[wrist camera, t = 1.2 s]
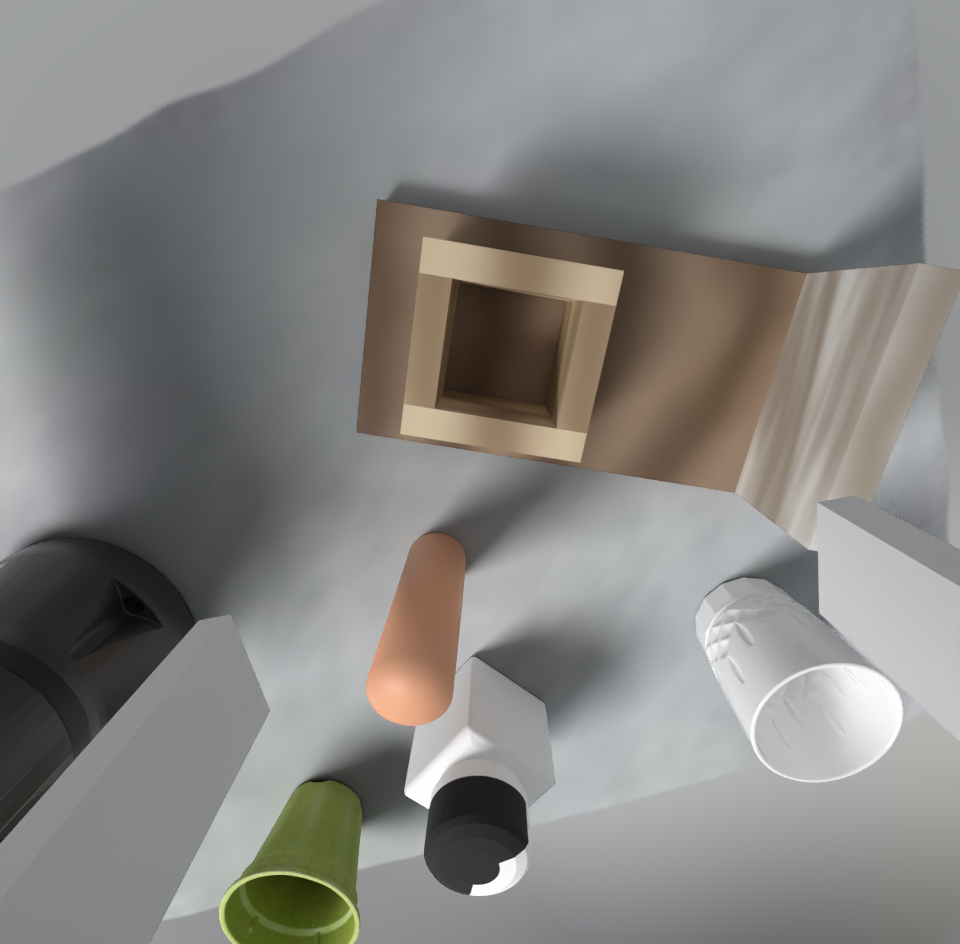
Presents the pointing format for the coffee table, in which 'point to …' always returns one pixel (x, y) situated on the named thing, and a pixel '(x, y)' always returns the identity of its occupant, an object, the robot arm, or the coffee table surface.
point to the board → (680, 360)
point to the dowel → (421, 635)
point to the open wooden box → (574, 365)
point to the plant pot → (301, 874)
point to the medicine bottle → (481, 780)
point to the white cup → (796, 683)
